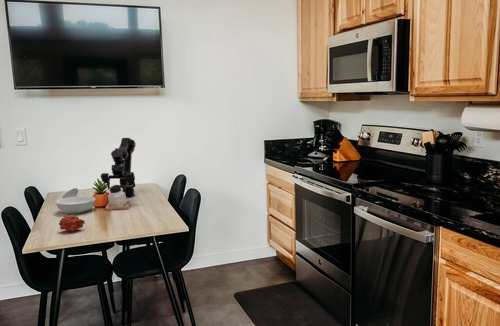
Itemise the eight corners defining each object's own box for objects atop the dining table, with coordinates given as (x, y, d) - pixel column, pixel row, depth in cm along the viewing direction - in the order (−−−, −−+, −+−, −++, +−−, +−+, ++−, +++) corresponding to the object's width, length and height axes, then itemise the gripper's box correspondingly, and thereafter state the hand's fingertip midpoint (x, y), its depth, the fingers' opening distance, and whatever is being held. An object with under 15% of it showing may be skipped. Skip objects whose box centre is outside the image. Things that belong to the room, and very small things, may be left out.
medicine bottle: (127, 203, 252) (123, 184, 248) (118, 208, 246) (114, 188, 242) (118, 202, 255) (114, 183, 251) (109, 206, 249) (105, 187, 246)
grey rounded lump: (79, 209, 267) (79, 197, 262) (61, 209, 264) (61, 197, 258) (79, 198, 276) (80, 185, 271) (62, 198, 272) (62, 185, 267)
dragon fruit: (58, 234, 207) (84, 236, 209) (55, 228, 199) (82, 230, 202) (61, 218, 211) (87, 219, 213) (58, 211, 203) (85, 213, 206)
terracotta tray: (105, 210, 243) (105, 207, 243) (109, 205, 255) (109, 202, 255) (128, 209, 245) (127, 206, 245) (130, 204, 257) (130, 201, 257)
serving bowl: (80, 217, 231) (79, 205, 230) (48, 215, 237) (47, 203, 236) (103, 207, 251) (102, 196, 250) (74, 206, 257) (73, 195, 256)
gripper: (100, 159, 249) (96, 182, 240) (132, 158, 251) (130, 180, 241) (104, 170, 258) (101, 192, 249) (135, 169, 260) (134, 191, 250)
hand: (116, 189), depth 247 cm, fingers open, 9 cm apart
